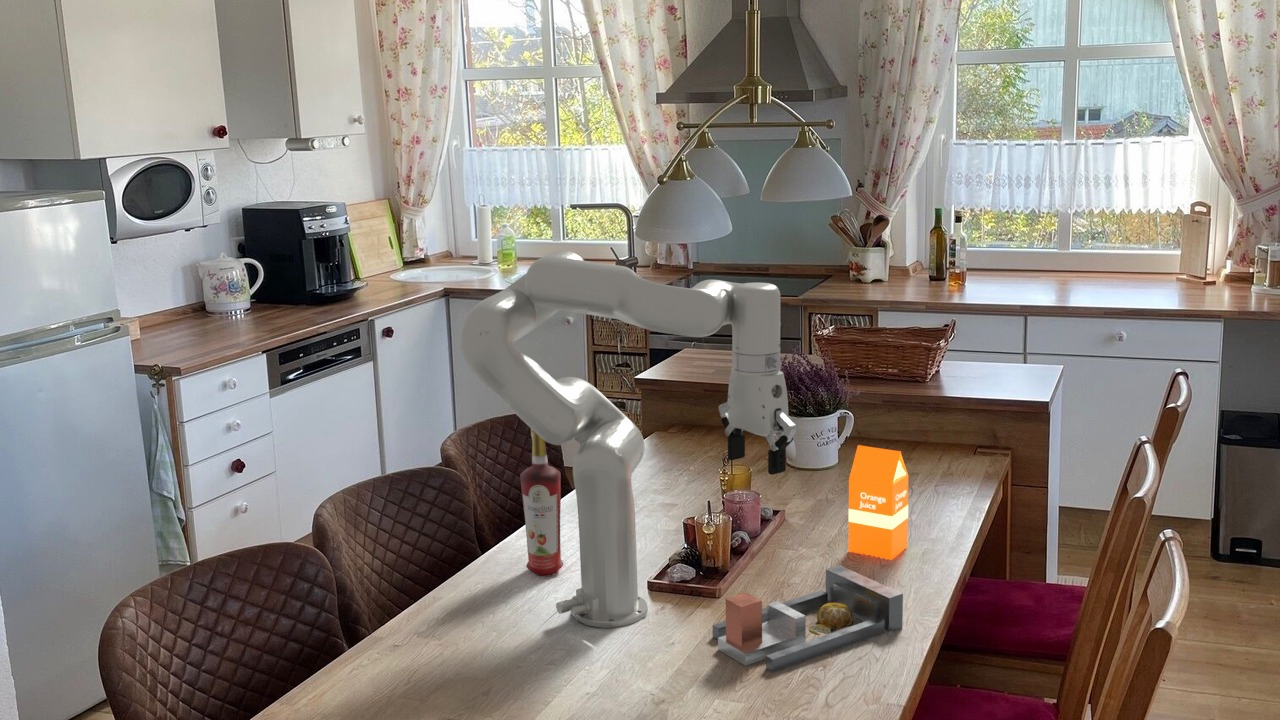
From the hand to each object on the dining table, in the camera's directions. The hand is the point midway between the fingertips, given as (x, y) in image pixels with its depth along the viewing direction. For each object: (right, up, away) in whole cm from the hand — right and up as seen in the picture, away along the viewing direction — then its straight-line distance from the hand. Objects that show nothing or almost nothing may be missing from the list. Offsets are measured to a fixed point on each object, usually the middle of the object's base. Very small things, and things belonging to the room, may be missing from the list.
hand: (756, 465), depth 198 cm
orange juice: (+26, -19, +36) cm, 49 cm away
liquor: (-36, -22, +31) cm, 52 cm away
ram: (+1, -28, -3) cm, 29 cm away
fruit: (+13, -27, +3) cm, 30 cm away
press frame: (+9, -27, +2) cm, 29 cm away
